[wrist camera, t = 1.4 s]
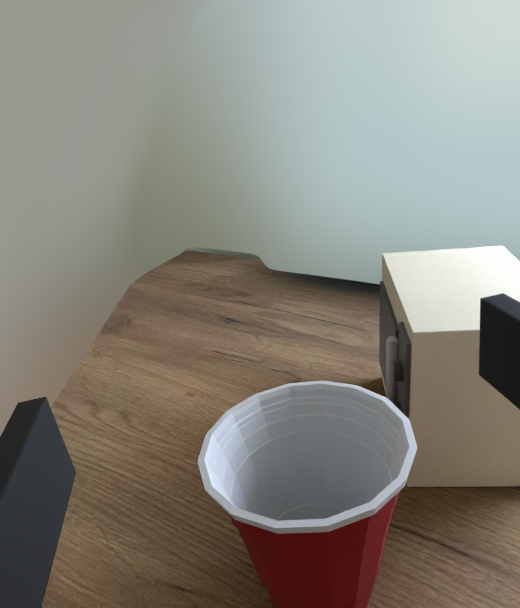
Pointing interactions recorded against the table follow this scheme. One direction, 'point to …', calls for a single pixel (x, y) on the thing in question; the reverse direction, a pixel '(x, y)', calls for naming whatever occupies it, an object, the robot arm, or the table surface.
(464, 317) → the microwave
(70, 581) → the table surface
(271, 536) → the plastic cup
